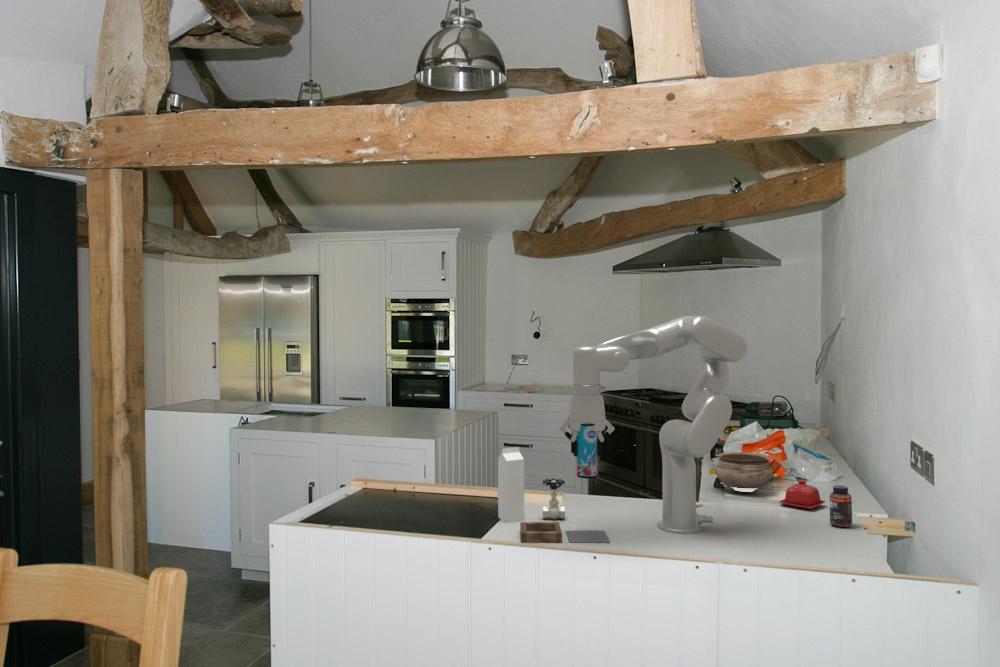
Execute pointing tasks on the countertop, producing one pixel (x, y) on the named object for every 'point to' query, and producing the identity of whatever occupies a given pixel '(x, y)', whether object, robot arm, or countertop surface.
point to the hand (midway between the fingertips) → (586, 455)
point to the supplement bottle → (840, 507)
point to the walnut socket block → (540, 532)
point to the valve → (553, 501)
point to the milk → (511, 485)
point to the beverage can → (587, 452)
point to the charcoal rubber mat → (587, 536)
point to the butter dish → (802, 496)
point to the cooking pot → (744, 469)
